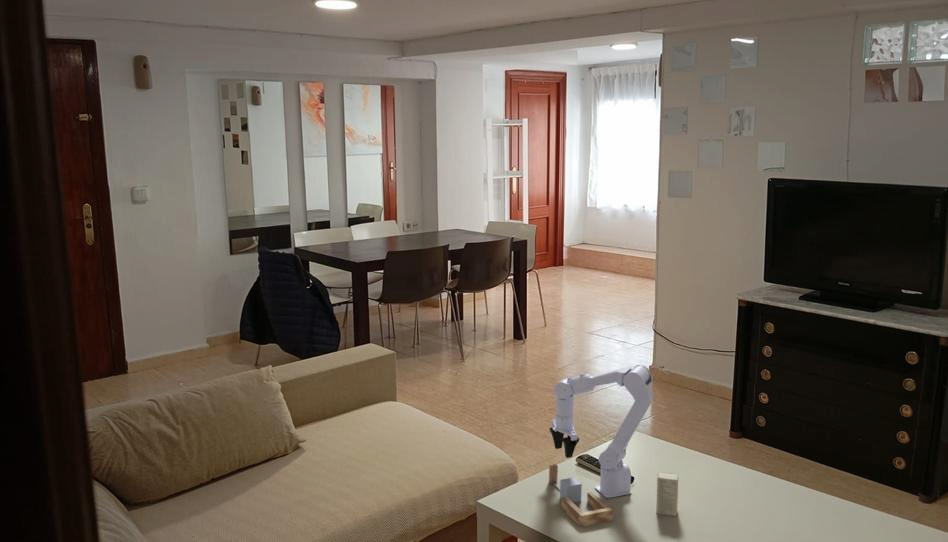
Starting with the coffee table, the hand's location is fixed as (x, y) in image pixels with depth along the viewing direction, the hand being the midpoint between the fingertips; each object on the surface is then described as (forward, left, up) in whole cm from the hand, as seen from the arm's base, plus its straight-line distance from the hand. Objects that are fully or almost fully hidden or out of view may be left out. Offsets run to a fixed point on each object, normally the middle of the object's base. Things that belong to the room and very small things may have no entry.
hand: (563, 452), depth 258 cm
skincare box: (-20, +31, -10) cm, 38 cm away
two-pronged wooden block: (+4, +23, -10) cm, 25 cm away
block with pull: (+4, +7, -10) cm, 13 cm away
